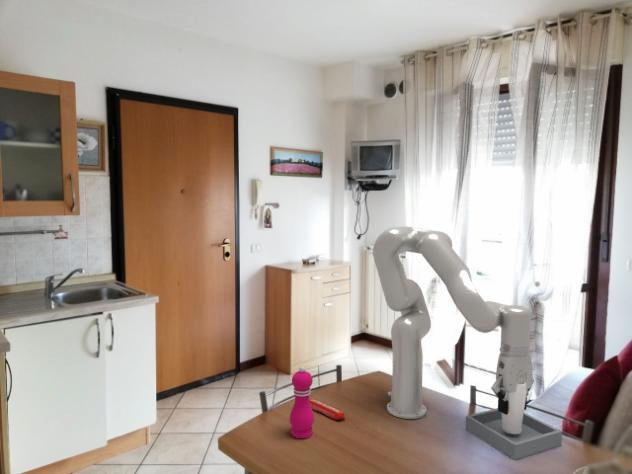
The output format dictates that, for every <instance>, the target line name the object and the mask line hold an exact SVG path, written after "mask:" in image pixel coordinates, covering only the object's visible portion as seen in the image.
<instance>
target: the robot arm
mask: <svg viewBox="0 0 632 474" xmlns="http://www.w3.org/2000/svg"><path fill="white" fill-rule="evenodd" d="M401 253H402V254H403V253H414V254H419V255H421V256H422V257H423V258H424V259H425V261H426V262H427V263H428V265H429V266H430V267H431V268H432V270H433V271H434V272H435V273H436V275H437V276H438V277H439V279H440V280H441V281H442V282H443V284H444V285H445V287H446V291H447V292H448V294H449V295H450V298H451V300H452V301H453V303H454V305H455V306H456V309H457V310H458V311H459V312H460V314H461V315H462V317H464V319H465V321H466V322H467V323H468V324H469V325H470V326H471V328H473V329H474V330H475V331H477V332H479V333H483V334H486V333H491V332H493V331H494V330H495V329H496V328H498V327H500V328H501V329H500V331H501V332H500V347H499V355H498V359H497V363H496V371H495V381H494V383H493V384H492V386H490V389H491V390H492V391H493V393H494V394H495V396H496V398H497V408H498V411H500V412H502V413H504V414H505V415H507V414H508V405H509V401H507V398H508V395H509V392H510V393H512V392H516V387H517V384H524V383H526V401H525V407H524V411H526V410H527V407H528V406H527V403H528V402H527V401H528V396H529V395H530V393H529V392H530V391H531V388H532V387H533V385H534V383H535V380H534V378H533V371H534V370H533V360H532V357H531V356H532V355H531V353H530V342H531V341H530V340H531V338H530V337H531V318H532V315H531V313H532V312H531V311H530V310H531V309H529V308H528V307H525V306H521V305H516V304H515V305H511V304H510V305H508V304H503V303H500V302H496V301H490V300H487V301H485V300H484V299H483V298H482V296H481V295H480V294H479V292H478V291H477V289H476V287H475V285H474V282H473V280H472V274H471V271H470V269H469V267H468V265H467V264H465V262H464V260H462V258H461V257H460V256H459V255H458V253H457V251H455V249H454V248H453V240H452V239H451V236H449V235H448V233H446V232H444V231H438V230H432V229H431V230H430V229H424V228H418V227H412V226H394V227H391V228H388V229H386V230H384V231H383V232H382V233H380V235H378V237H377V238H376V240H375V241H374V244H373V248H372V257H373V261H374V265H375V268H376V271H377V274H378V279H379V282H380V285H381V289H382V292H383V296H384V299H385V302H386V305H387V306H388V308H389V309H390V310H391V311H394V312H400V314H401V315H400V316H398V317H397V318H396V319H395V320H394V322H393V323H392V326H391V329H390V336H391V337H390V338H391V346H392V347H391V348H392V378H391V379H392V380H391V382H392V385H391V388H392V389H391V391H388V392H387V395H388V397H390V401H389V402H388V403H387V405H386V410H387V412H388V413H389V414H390V415H392V416H394V417H397V418H399V419H405V420H416V419H417V420H418V419H421V418H423V417H425V416H426V414H427V407H426V406H425V405H424V404H423V401H422V399H423V367H424V366H423V365H424V364H423V362H424V361H423V360H424V359H423V357H424V356H423V347H422V339H423V338H425V336H426V335H428V334H429V332H430V330H431V327H432V321H431V317H430V313H429V310H428V306H427V303H426V299H425V297H424V296H425V295H424V294H423V291H422V289H421V287H420V286H419V284H418V283H417V282H416V281H415V280H413V279H410V278H407V275H406V271H405V268H404V265H403V263H402V261H401V259H400V254H401ZM502 385H503V386H504V388H503V387H502ZM502 390H504V391H505V393H504V395H503V394H502Z"/></svg>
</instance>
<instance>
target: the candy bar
mask: <svg viewBox="0 0 632 474" xmlns="http://www.w3.org/2000/svg"><path fill="white" fill-rule="evenodd" d="M309 402H310V406H311V408H312V410H313V411H316V412H318V411H319V412H318V413H320V412H321V413H320V414H322V413H323V414H322V415H324V414H325V416H326V417H330V418H331V419H333V420H337V421H338V420H343V419H344V418H345V419H347V418H346V416H345V413H344V411H343V410H340V409H338V408H337V407H334V406H331V405H329V404H327V403H325V402H322V401H320V400H317V399H316V398H315V399H314V398H309Z"/></svg>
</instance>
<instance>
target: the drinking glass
mask: <svg viewBox="0 0 632 474" xmlns="http://www.w3.org/2000/svg"><path fill="white" fill-rule="evenodd" d="M502 387H503V388H504V386H503V385H502ZM504 393H505V391H504V390H502V394H503V395H504ZM526 397H527V396H526V383H524V384H517V387H516V392H512V393H510V392H509V395H508V398H507V401H509V405H508V414H507V415H505V414H504V413H502V412H501V414H502V429H503V430H504V431H505V432H507V433H509V434H515V435H516V434H520V433H521V432H522V422H523V414H524V413H525V410H524V407H525V401H526Z"/></svg>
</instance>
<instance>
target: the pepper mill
mask: <svg viewBox="0 0 632 474" xmlns="http://www.w3.org/2000/svg"><path fill="white" fill-rule="evenodd" d="M291 385H292V386H293V395H294V403H293V406H292V409H291V411H290V414H289V423H290V425H291V428H290V434H292V435H293V436H294V437H296V438H295V439H297V438H306V439H309V438H311V437H312V436H313V425H314V423H315V415H314V410H313V409H312V408H311V406H310V402H309V399H310V394H311V393H312V392H311V390H312V389H311V387H312V385H313V376H312V374H311V373H310V372H308V371H306V367H305V366H300V367H299V370H298V371H296V372H294V374H293V375H292V378H291ZM292 435H291V436H292ZM311 435H312V436H311ZM293 436H292V437H293ZM294 437H293V438H294ZM308 437H309V438H308Z"/></svg>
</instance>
